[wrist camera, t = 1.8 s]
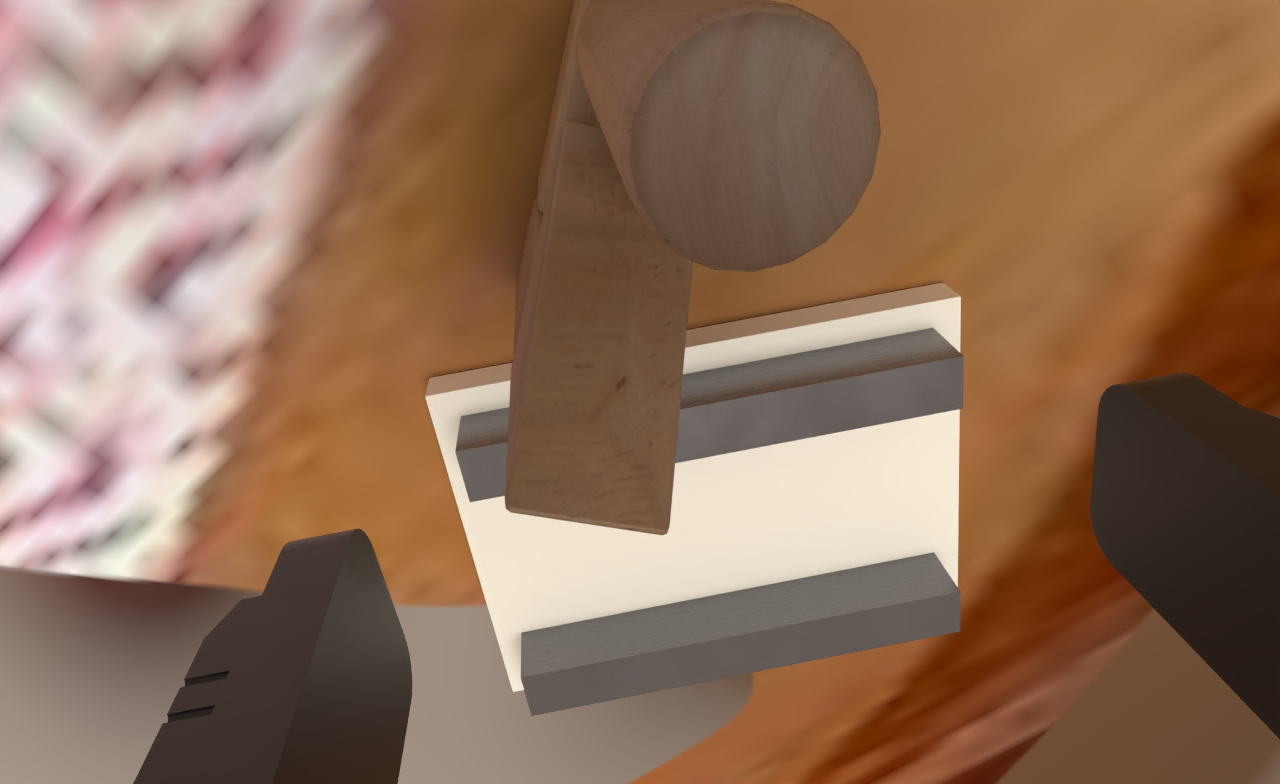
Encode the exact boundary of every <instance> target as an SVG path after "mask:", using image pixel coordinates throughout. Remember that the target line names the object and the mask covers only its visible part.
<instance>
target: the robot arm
mask: <svg viewBox="0 0 1280 784" xmlns="http://www.w3.org/2000/svg"><path fill="white" fill-rule="evenodd" d="M1090 513H1091V521H1092V526H1093V530H1094V533H1095V536H1096V539H1097V541H1098V544H1099V546H1100V548H1101V550H1102V551H1103V553H1104V555H1105V556H1106V558H1107V559H1108V561H1109V562H1110V563H1111V564H1112V565H1113V566H1114V567H1115V568H1116V569H1117V570H1118V572H1119V573H1120V574H1121V575H1122V576H1123V577H1124V578H1125V579H1126V580H1127V581H1128V582H1129V583H1130V584H1131V585H1132V586H1133V587H1134V588H1135V589H1136V590H1137V591H1138V592H1139V593H1140V594H1141V595H1142V596H1143V598H1144V599H1145V600H1146V601H1147V602H1148V603H1149V604H1150V605H1151V606H1152V607H1153V608H1154V609H1155V610H1156V611H1157V612H1158V613H1159V614H1160V615H1161V616H1162V617H1163V618H1164V619H1165V620H1166V621H1167V622H1168V623H1169V625H1170V626H1171V627H1172V628H1173V629H1174V630H1176V632H1177V633H1178V634H1179V635H1180V636H1181V637H1182V638H1183V639H1184V640H1185V641H1186V642H1187V643H1188V644H1189V645H1190V646H1191V647H1192V648H1193V650H1195V652H1196V653H1197V654H1198V655H1199V656H1200V657H1201V658H1202V659H1203V660H1204V661H1205V662H1206V663H1207V664H1208V665H1209V666H1210V667H1211V668H1212V669H1213V670H1214V671H1215V672H1216V673H1217V674H1218V675H1219V677H1221V679H1222V680H1223V681H1224V682H1225V683H1226V684H1227V685H1228V686H1229V687H1230V688H1231V689H1232V690H1233V691H1234V692H1235V693H1236V694H1237V695H1238V696H1239V697H1240V698H1241V699H1242V700H1243V701H1244V703H1246V705H1247V706H1249V708H1250V709H1251V710H1252V711H1253V712H1254V713H1255V714H1256V715H1257V716H1258V717H1259V718H1260V719H1261V720H1262V721H1263V722H1264V723H1265V724H1266V725H1267V726H1268V727H1269V729H1270V730H1271V731H1273V733H1274V734H1275V735H1276V736H1277V737H1278V738H1279V739H1280V418H1277V417H1274V416H1271V415H1268V414H1265V413H1262V412H1259V411H1256V410H1253V409H1250V408H1247V407H1244V406H1242V405H1240V404H1239V403H1237V402H1236V401H1234V400H1232V399H1231V398H1229V397H1228V396H1226V395H1224V394H1223V393H1221V392H1220V391H1218V390H1216V389H1215V388H1213V387H1212V386H1210V385H1208V384H1207V383H1205V382H1204V381H1202V380H1200V379H1199V378H1197V377H1195V376H1193V375H1191V374H1189V373H1174V374H1169V375H1164V376H1159V377H1153V378H1148V379H1143V380H1138V381H1133V382H1127V383H1122V384H1117V385H1113V386H1110V387H1109V388H1107V389H1106V391H1105V392H1104V393H1103V395H1102V397H1101V400H1100V403H1099V409H1098V419H1097V431H1096V443H1095V454H1094V466H1093V478H1092V490H1091V502H1090ZM184 680H185V687H181V688H180V689H179V691H178V694H177V695H176V697H175V699H174V701H173V704H172V706H171V708H170V710H169V712H168V714H167V715H168V723H163V724H162V726H161V728H160V730H159V732H158V734H157V736H156V738H155V740H154V743H153V744H152V747H151V749H150V751H149V753H148V755H147V757H146V759H145V761H144V763H143V765H142V767H141V769H140V771H139V773H138V775H137V777H136V779H135V781H134V783H133V784H397V782H398V777H399V771H400V765H401V759H402V753H403V747H404V741H405V735H406V729H407V723H408V717H409V711H410V704H411V698H412V671H411V662H410V656H409V651H408V646H407V642H406V640H405V636H404V633H403V630H402V628H401V625H400V622H399V619H398V617H397V614H396V611H395V608H394V605H393V602H392V600H391V597H390V594H389V591H388V588H387V586H386V583H385V580H384V577H383V575H382V572H381V569H380V566H379V563H378V561H377V558H376V555H375V552H374V549H373V547H372V544H371V542H370V540H369V538H368V536H367V535H366V534H365V532H364V531H363V530H361V529H354V530H348V531H343V532H338V533H333V534H328V535H322V536H317V537H312V538H307V539H302V540H296V541H291V542H288V543H286V544H285V546H284V547H283V549H282V550H281V553H280V555H279V557H278V560H277V562H276V564H275V566H274V569H273V571H272V573H271V576H270V578H269V580H268V583H267V585H266V587H265V590H264V592H263V594H262V596H258V597H253V598H248V599H243V600H241V601H240V602H239V603H238V604H237V605H236V606H235V607H234V608H233V609H232V610H231V611H230V612H229V613H228V614H227V615H226V616H225V617H224V618H223V619H222V621H220V623H219V624H218V625H217V626H216V627H215V628H214V629H213V630H212V631H211V632H210V633H209V634H208V635H207V636H206V637H205V638H204V640H203V642H202V644H201V646H200V648H199V650H198V652H197V654H196V656H195V658H194V660H193V663H192V665H191V667H190V669H189V671H188V673H187V675H186V677H185V679H184Z"/></svg>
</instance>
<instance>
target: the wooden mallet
mask: <svg viewBox="0 0 1280 784" xmlns="http://www.w3.org/2000/svg"><path fill="white" fill-rule="evenodd" d="M880 134H881V133H880V122H879V112H878V102H877V92H876V90H875V87H874V85H873V83H872V81H871V78H870V76H869V74H868V72H867V69H866V67H865V65H864V63H863V60H862V58H861V56H860V54H859V53H858V52H857V51H856V50H855V48H854V47H853V46H852V45H851V44H850V43H849V42H848V41H847V40H846V39H845V38H844V37H843V36H842V35H841V34H840V33H839V32H838V31H837V30H836V28H835V27H834V26H833V25H832V24H831V23H829V22H827V21H825V20H822V19H820V18H818V17H816V16H814V15H812V14H810V13H808V12H806V11H804V10H802V9H800V8H798V7H796V6H794V5H790V4H785V3H779V2H774V1H769V0H574V1H573V6H572V11H571V16H570V21H569V26H568V31H567V36H566V41H565V46H564V51H563V56H562V61H561V66H560V71H559V75H558V80H557V85H556V90H555V95H554V100H553V105H552V110H551V115H550V120H549V125H548V130H547V135H546V140H545V145H544V150H543V155H542V160H541V164H540V169H539V174H538V179H537V189H538V194H537V195H536V197H535V198H534V200H533V204H532V209H531V214H530V219H529V224H528V229H527V234H526V238H525V243H524V248H523V253H522V258H521V263H520V268H519V273H518V278H517V290H516V311H515V332H514V353H513V362H512V367H511V380H510V400H509V420H508V440H507V460H506V480H505V507H506V509H507V510H508V511H510V512H511V513H517V514H523V515H530V516H537V517H543V518H550V519H556V520H563V521H570V522H576V523H583V524H590V525H596V526H603V527H609V528H616V529H623V530H629V531H636V532H643V533H649V534H656V535H665V534H667V533H668V530H669V526H670V517H671V505H672V493H673V482H674V470H675V459H676V447H677V435H678V424H679V412H680V401H681V389H682V377H683V366H684V354H685V342H686V331H687V319H688V308H689V296H690V284H691V273H692V261H693V262H696V263H698V264H701V265H704V266H706V267H709V268H711V269H714V270H729V271H747V272H754V271H758V270H762V269H766V268H770V267H774V266H778V265H782V264H785V263H789V262H792V261H794V260H796V259H797V258H799V257H801V256H802V255H804V254H806V253H807V252H809V251H811V250H812V249H814V248H816V247H818V246H819V245H821V244H823V243H824V242H826V241H827V240H828V239H829V238H830V237H831V236H832V235H833V233H834V232H835V231H836V230H837V229H838V228H839V227H840V226H841V225H842V224H843V223H844V222H845V221H846V220H847V219H848V218H849V217H850V216H851V214H852V213H853V212H854V210H855V208H856V206H857V204H858V202H859V200H860V199H861V197H862V195H863V193H864V191H865V189H866V187H867V185H868V183H869V181H870V179H871V177H872V174H873V169H874V164H875V159H876V154H877V149H878V144H879V139H880Z"/></svg>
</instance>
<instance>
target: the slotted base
mask: <svg viewBox="0 0 1280 784" xmlns="http://www.w3.org/2000/svg"><path fill="white" fill-rule="evenodd" d="M960 318H961V296H960V295H958V294H957V293H956V292H954V291H953V290H952V289H951V288H949V287H948V286H947V285H946V284H944V283H937V284H932V285H927V286H921V287H916V288H911V289H905V290H900V291H894V292H889V293H884V294H878V295H873V296H868V297H862V298H857V299H851V300H846V301H841V302H835V303H830V304H825V305H819V306H814V307H808V308H803V309H798V310H792V311H787V312H782V313H776V314H771V315H765V316H760V317H755V318H749V319H744V320H739V321H733V322H728V323H722V324H717V325H712V326H706V327H701V328H696V329H690V330H687V331H686V342H685V354H684V366H683V377H682V389H681V401H680V412H679V424H678V435H677V447H676V459H675V470H674V482H673V493H672V505H671V517H670V526H669V530H668V533H667V534H665V535H656V534H649V533H643V532H636V531H629V530H623V529H616V528H609V527H603V526H596V525H590V524H583V523H576V522H570V521H563V520H556V519H550V518H543V517H537V516H530V515H523V514H517V513H511V512H510V511H508V510H507V509H506V507H505V480H506V460H507V440H508V420H509V400H510V380H511V367H512V363H507V364H502V365H497V366H491V367H486V368H480V369H475V370H470V371H464V372H459V373H454V374H448V375H443V376H437V377H432V378H429V382H428V386H427V390H426V395H425V398H426V401H427V405H428V408H429V411H430V415H431V418H432V421H433V425H434V428H435V432H436V435H437V438H438V442H439V445H440V448H441V452H442V455H443V458H444V462H445V465H446V468H447V472H448V475H449V479H450V482H451V485H452V489H453V492H454V495H455V499H456V502H457V505H458V509H459V512H460V516H461V519H462V522H463V526H464V529H465V532H466V536H467V539H468V542H469V546H470V549H471V552H472V556H473V559H474V563H475V566H476V569H477V573H478V576H479V579H480V583H481V586H482V589H483V593H484V596H485V600H486V603H487V606H488V610H489V613H490V616H491V620H492V623H493V626H494V630H495V633H496V636H497V640H498V643H499V646H500V650H501V653H502V656H503V660H504V663H505V667H506V670H507V673H508V676H509V680H510V683H511V687H512V690H513V692H515V691H520V690H524V691H525V695H526V698H527V701H528V705H529V708H530V712H531V715H532V716H534V715H538V714H544V713H548V712H554V711H558V710H564V709H569V708H574V707H579V706H584V705H589V704H594V703H599V702H604V701H609V700H614V699H620V698H625V697H630V696H635V695H640V694H645V693H650V692H654V691H660V690H665V689H670V688H675V687H680V686H686V685H690V684H696V683H700V682H706V681H711V680H716V679H721V678H726V677H731V676H736V675H741V674H746V673H751V672H757V671H762V670H767V669H772V668H777V667H782V666H787V665H792V664H797V663H802V662H807V661H812V660H817V659H822V658H827V657H833V656H838V655H843V654H848V653H853V652H858V651H863V650H868V649H873V648H878V647H883V646H888V645H893V644H898V643H903V642H909V641H914V640H919V639H924V638H929V637H934V636H939V635H944V634H949V633H954V632H959V631H960V590H959V589H958V504H959V411H960V409H963V355H962V354H961V353H960Z"/></svg>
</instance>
